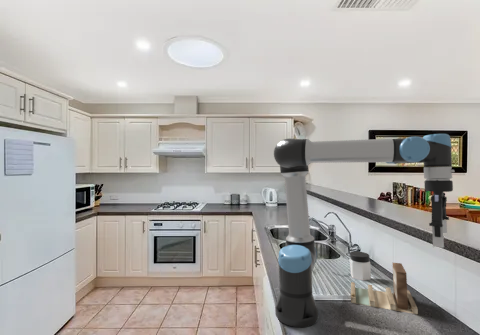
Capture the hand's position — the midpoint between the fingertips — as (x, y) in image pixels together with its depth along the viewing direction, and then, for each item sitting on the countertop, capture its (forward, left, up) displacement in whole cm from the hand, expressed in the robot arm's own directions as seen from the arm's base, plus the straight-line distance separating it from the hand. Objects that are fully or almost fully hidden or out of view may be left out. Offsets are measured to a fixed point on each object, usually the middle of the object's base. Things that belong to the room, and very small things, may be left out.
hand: (440, 242), depth 84 cm
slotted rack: (-18, +6, -26) cm, 32 cm away
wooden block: (-12, +6, -25) cm, 28 cm away
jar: (-25, +26, -27) cm, 44 cm away
